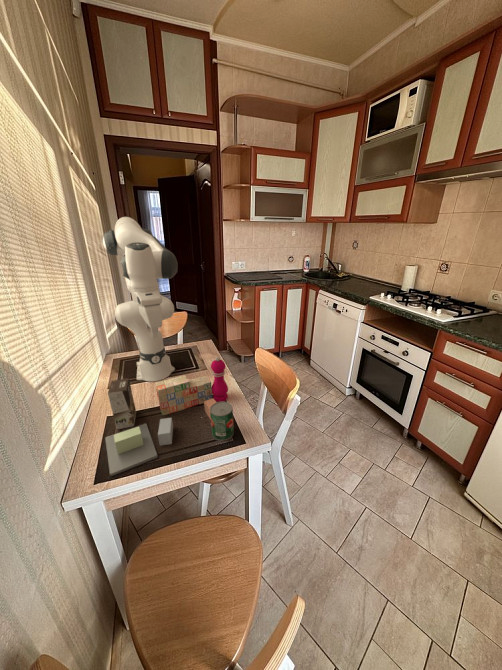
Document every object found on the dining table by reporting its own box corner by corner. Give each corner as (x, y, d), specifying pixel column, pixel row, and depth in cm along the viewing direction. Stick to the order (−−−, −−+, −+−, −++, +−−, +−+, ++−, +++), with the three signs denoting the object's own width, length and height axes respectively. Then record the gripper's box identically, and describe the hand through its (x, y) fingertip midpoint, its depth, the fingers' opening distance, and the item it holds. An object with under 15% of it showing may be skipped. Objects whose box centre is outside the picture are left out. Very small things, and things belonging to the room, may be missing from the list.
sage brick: (116, 446, 92) (113, 434, 90) (141, 437, 96) (139, 426, 94) (118, 454, 89) (114, 442, 87) (143, 444, 93) (141, 433, 91)
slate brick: (159, 446, 93) (157, 434, 92) (162, 430, 101) (160, 419, 99) (171, 444, 94) (169, 432, 92) (173, 428, 101) (171, 417, 100)
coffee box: (134, 426, 103) (126, 390, 97) (116, 430, 101) (106, 393, 95) (136, 411, 111) (129, 377, 105) (119, 414, 109) (111, 380, 103)
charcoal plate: (105, 439, 97) (105, 437, 96) (146, 425, 103) (146, 423, 103) (110, 476, 82) (109, 474, 82) (157, 457, 89) (157, 455, 88)
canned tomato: (209, 428, 101) (207, 404, 97) (230, 423, 103) (228, 399, 99) (215, 443, 94) (212, 417, 90) (236, 437, 96) (235, 412, 92)
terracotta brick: (212, 422, 104) (211, 412, 102) (204, 411, 110) (203, 401, 108) (222, 419, 106) (221, 408, 104) (214, 408, 112) (213, 398, 110)
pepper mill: (214, 404, 114) (211, 362, 106) (210, 395, 120) (206, 355, 113) (231, 400, 117) (228, 359, 109) (225, 391, 123) (223, 352, 115)
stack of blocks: (208, 393, 122) (206, 369, 118) (213, 400, 117) (210, 375, 112) (159, 407, 113) (154, 382, 109) (162, 416, 108) (157, 389, 103)
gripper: (130, 289, 98) (137, 325, 103) (141, 302, 81) (148, 344, 86) (149, 287, 100) (154, 322, 106) (163, 299, 84) (168, 340, 89)
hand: (152, 332), depth 96 cm, fingers open, 8 cm apart
